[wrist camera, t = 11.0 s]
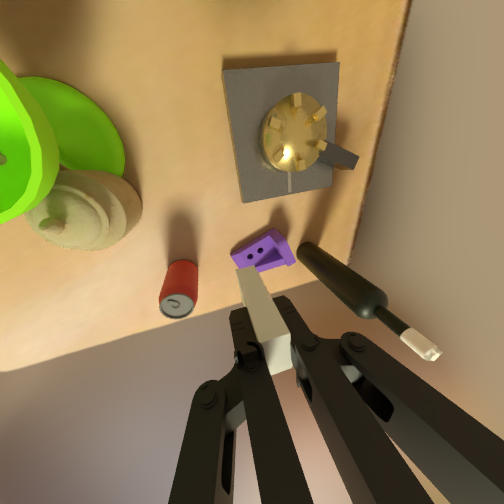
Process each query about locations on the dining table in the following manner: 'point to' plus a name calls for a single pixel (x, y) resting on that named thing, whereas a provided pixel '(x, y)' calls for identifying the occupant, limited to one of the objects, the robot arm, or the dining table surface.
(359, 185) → the dining table surface
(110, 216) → the sugar bowl
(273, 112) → the gold tabbed disc
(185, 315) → the beer can
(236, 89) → the plate
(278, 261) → the bracket
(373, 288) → the wine bottle
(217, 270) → the dining table surface
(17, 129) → the wineglass
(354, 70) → the dining table surface
